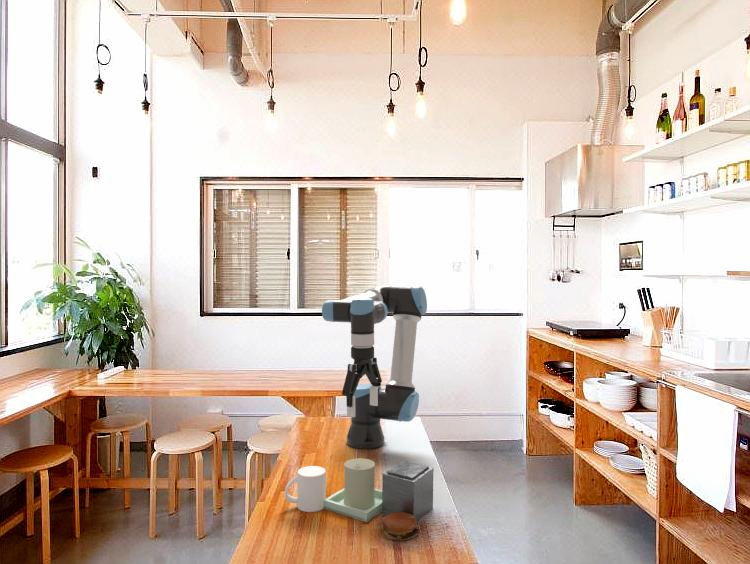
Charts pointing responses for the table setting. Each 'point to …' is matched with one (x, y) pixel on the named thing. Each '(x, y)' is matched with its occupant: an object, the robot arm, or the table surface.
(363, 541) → the table surface
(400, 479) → the unit
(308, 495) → the mug
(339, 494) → the tray
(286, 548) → the table surface
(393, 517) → the burger
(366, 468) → the can
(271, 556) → the table surface
